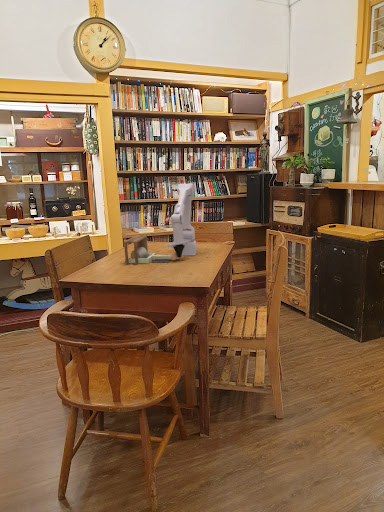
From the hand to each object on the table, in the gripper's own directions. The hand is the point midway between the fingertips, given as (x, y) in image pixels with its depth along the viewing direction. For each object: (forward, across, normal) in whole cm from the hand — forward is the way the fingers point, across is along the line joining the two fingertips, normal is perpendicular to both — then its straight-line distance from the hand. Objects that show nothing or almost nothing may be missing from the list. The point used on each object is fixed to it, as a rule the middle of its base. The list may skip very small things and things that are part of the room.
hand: (179, 257), depth 215 cm
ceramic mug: (+2, +14, -19) cm, 23 cm away
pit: (+2, +6, -8) cm, 10 cm away
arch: (+2, +15, -21) cm, 26 cm away
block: (+2, +9, -13) cm, 16 cm away
